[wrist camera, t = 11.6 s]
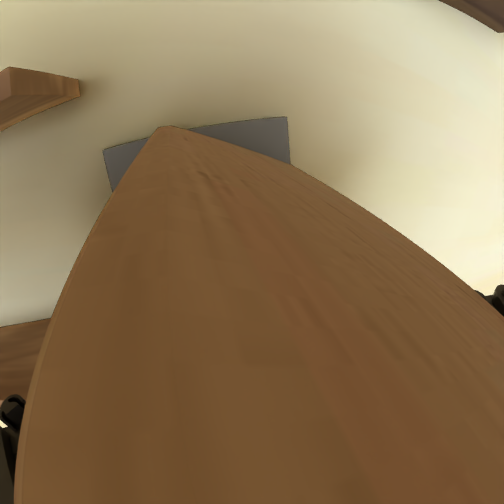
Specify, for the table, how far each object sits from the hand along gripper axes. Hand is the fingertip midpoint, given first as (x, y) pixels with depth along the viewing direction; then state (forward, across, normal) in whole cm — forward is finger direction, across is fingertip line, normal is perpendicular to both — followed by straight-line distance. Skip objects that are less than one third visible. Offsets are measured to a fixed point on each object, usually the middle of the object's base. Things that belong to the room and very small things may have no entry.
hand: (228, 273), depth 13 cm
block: (+8, 0, 0) cm, 8 cm away
